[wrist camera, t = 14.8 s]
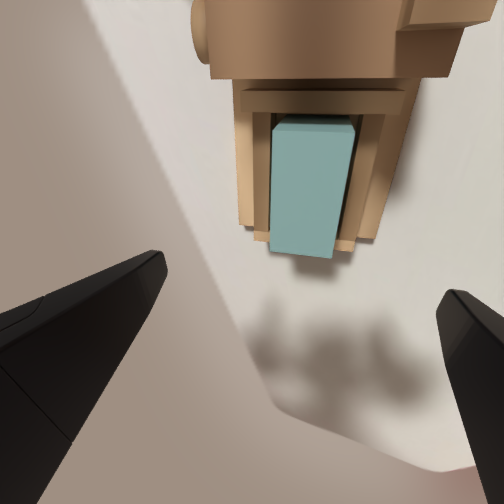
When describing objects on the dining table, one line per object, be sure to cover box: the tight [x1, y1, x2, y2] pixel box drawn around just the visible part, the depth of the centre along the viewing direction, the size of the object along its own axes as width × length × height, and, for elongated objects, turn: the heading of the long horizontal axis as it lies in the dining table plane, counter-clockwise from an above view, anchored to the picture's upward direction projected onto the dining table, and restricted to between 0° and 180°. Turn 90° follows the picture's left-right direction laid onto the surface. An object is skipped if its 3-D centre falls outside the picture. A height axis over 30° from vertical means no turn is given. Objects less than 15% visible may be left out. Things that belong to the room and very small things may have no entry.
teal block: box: [270, 114, 355, 259], centre depth 15 cm, size 4×6×5 cm, turn 1°
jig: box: [232, 78, 421, 252], centre depth 15 cm, size 10×17×3 cm, turn 1°
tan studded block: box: [191, 0, 497, 79], centre depth 11 cm, size 10×4×7 cm, turn 91°
